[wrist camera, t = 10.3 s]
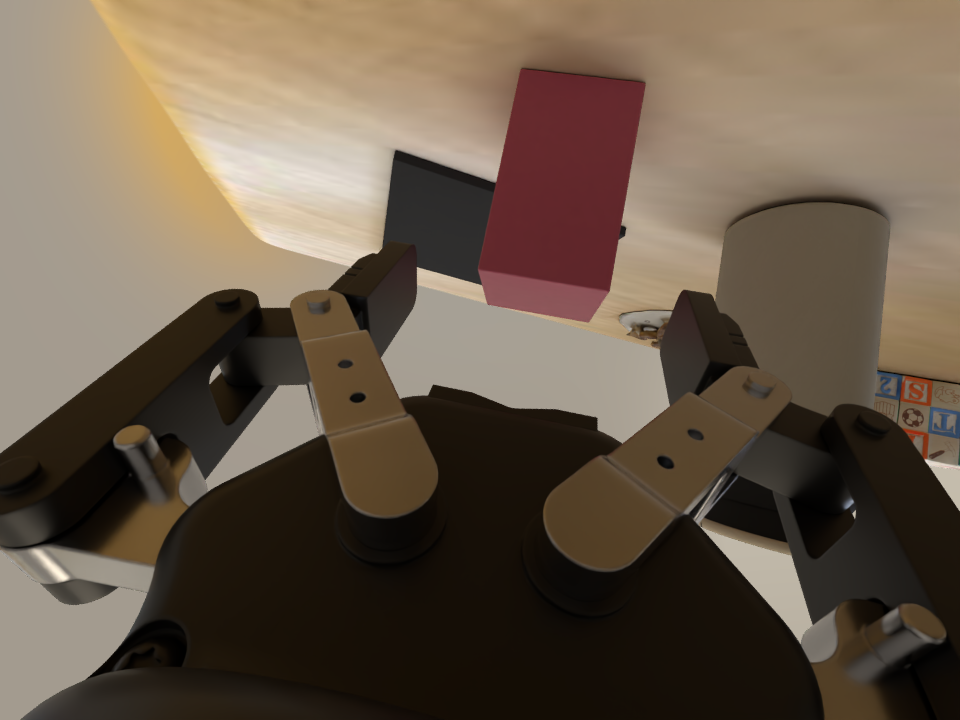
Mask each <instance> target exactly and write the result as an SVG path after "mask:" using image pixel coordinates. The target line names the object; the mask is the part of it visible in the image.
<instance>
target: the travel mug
mask: <svg viewBox="0 0 960 720" xmlns="http://www.w3.org/2000/svg"><path fill="white" fill-rule="evenodd" d="M889 236H890V225H889V222H888V221H887V220H886V219H885V218H884V217H883V216H882V215H880V214H878V213H876V212H874V211H872V210H869V209H866V208H862V207H858V206H853V205H846V204H840V203H834V202H804V203H797V204H790V205H783V206H778V207H774V208H770V209H767V210H764V211H761V212H758V213H756V214H753V215H750V216H748V217H746V218H743V219H741V220H740V221H738V222H736V223H735V224H733V225H732V226H731V227H730V228H729V229H728V230H727V232H726V233H725V236H724V242H723V250H722V257H721V264H720V271H719V278H718V285H717V292H716V299H715V303H716V305H717V308H718V310H719V312H720V313H725V314H727V315H728V316H729V317H731V318H732V319H733V320H734V321H735V322H736V323H737V324H738V325H739V327H740V329H741V331H742V333H743V335H744V336H743V338H745V339H746V341H747V343H748V347H749V348H750V350H751V352H752V354H753V356H754V358H755V360H756V362H757V365H758V367H759V369H761V370H763V371H766V372H768V373H770V374H772V375H774V376H776V377H777V378H779V379H780V380H781V381H783V382H784V383H785V384H786V385H787V386H788V387H789V389H790V390H791V392H792V400H791V401H790V402H792V403H794V404H797V405H799V406H801V407H804V408H807V409H810V410H812V411H815V412H818V413H820V414H823V415H826V416H829V415H830V413H831V412H832V411H833V410H834V408H835V407H836V406H838V405H840V404H847V403H848V404H856V405H861V406H865V407H867V408H870V409H873V410H874V401H875V390H876V379H877V368H878V357H879V346H880V335H881V324H882V313H883V302H884V291H885V280H886V269H887V258H888V247H889ZM849 508H850V510H851V512H852V513H853V512H854V511H855V510H856V508H855V504H854V503H853V504H852V505H851V506H850V507H849ZM698 525H699V526H701V527H703V528H705V529H707V530H710V531H712V532H715V533H718V534H720V535H724V536H726V537H729V538H732V539H735V540H738V541H742V542H745V543H748V544H751V545H755V546H758V547H762V548H765V549H769V550H772V551H777V552H780V553H784V554H788V555H791V552H790V548H789V545H788V542H787V539H786V535H785V532H784V529H783V525H782V522H781V519H780V515H779V512H778V509H777V506H776V502H775V499H774V496H773V490H770V489H768V488H766V487H764V486H761V485H759V484H757V483H755V482H753V481H750V480H748V479H746V478H744V477H741V476H739V477H738V478H737V480H736V481H735V482H734V483H733V484H732V485H731V486H730V488H729V489H728V490H727V491H726V492H725V493H724V495H723V496H722V497H721V498H720V499H719V500H718V501H717V503H716V504H715V505H714V506H713V507H712V508H711V510H710V511H709V512H708V513H707V514H706V515H705V516H704V518H703V519H702V520H701V521H700V523H699V524H698Z"/></svg>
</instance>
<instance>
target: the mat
mask: <svg viewBox="0 0 960 720" xmlns="http://www.w3.org/2000/svg"><path fill="white" fill-rule="evenodd" d="M495 186H496V184H493V183H491V182H488V181H485V180H482V179H479V178H476V177H473V176H470V175H467V174H464V173H461V172H458V171H455V170H452V169H449V168H446V167H443V166H440V165H437V164H434V163H431V162H428V161H425V160H422V159H419V158H416V157H413V156H410V155H407V154H404V153H401V152H398V151H395V155H394V159H393V167H392V175H391V183H390V191H389V199H388V207H387V215H386V223H385V231H384V240H383V248H384V247H385V246H386V244H387V243H388V242H389V241H396V242H402V243H409V244H414V245H415V247H416V252H417V267H419V268H423V269H426V270H430V271H433V272H437V273H440V274H444V275H448V276H451V277H455V278H458V279H462V280H465V281H469V282H473V283H476V284H480V285H482V282H481V279H480V275H479V271H478V266H479V261H480V256H481V252H482V247H483V242H484V238H485V233H486V228H487V224H488V219H489V214H490V210H491V205H492V200H493V196H494V191H495ZM625 232H626V228H624V227H621V229H620V234H619V239H621V238H622V237H624V236H625ZM383 248H382V249H383Z"/></svg>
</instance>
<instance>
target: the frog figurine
mask: <svg viewBox="0 0 960 720" xmlns="http://www.w3.org/2000/svg"><path fill="white" fill-rule="evenodd" d="M672 312H673V311H652V310H651V311H643V312H633V313H626V314H622V315H620V317H619V318H620V320H619V321H620V323H621V324H622V325H623V326H624V327H625V328H627V330H628V331H629V333H628V334H626V335H629V336H633V337H636V338H638V339H641V340H647V338H648V339H657V342H654V341H653V342H652V343H651V345H652V346H653V347H655V348H658V349H660V346H661V341H662V337H663V334H664V332H665V329H666V327H667V324H668V322H669V319H670V317H671V314H672Z"/></svg>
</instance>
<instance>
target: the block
mask: <svg viewBox="0 0 960 720" xmlns="http://www.w3.org/2000/svg"><path fill="white" fill-rule="evenodd" d="M644 90H645V83H642V82H633V81H625V80H616V79H607V78H598V77H589V76H581V75H572V74H563V73H554V72H545V71H537V70H528V69H521V70H520V74H519V79H518V84H517V88H516V93H515V98H514V102H513V107H512V112H511V116H510V121H509V126H508V130H507V135H506V140H505V144H504V149H503V154H502V158H501V163H500V168H499V172H498V177H497V182H496V186H495V191H494V196H493V200H492V205H491V210H490V214H489V219H488V224H487V228H486V233H485V238H484V242H483V247H482V252H481V256H480V261H479V266H478V271H479V275H480V279H481V282H482V286H483V290H484V293H485V297H486V301H487V304H488V305H493V306H498V307H504V308H510V309H515V310H521V311H527V312H532V313H538V314H543V315H549V316H555V317H560V318H566V319H572V320H577V321H583V322H589V321H590V320H591V318H592V317H593V315H594V314H595V312H596V311H597V309H598V308H599V306H600V305H601V303H602V302H603V300H604V299H605V297H606V296H607V294H608V293H609V291H610V286H611V280H612V275H613V269H614V263H615V257H616V252H617V246H618V240H619V234H620V229H621V223H622V217H623V211H624V206H625V200H626V194H627V188H628V183H629V177H630V171H631V165H632V160H633V154H634V148H635V142H636V136H637V131H638V125H639V119H640V113H641V108H642V102H643V96H644Z"/></svg>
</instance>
